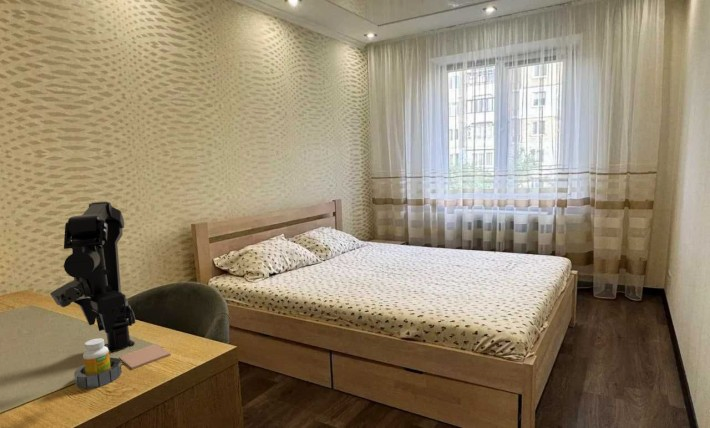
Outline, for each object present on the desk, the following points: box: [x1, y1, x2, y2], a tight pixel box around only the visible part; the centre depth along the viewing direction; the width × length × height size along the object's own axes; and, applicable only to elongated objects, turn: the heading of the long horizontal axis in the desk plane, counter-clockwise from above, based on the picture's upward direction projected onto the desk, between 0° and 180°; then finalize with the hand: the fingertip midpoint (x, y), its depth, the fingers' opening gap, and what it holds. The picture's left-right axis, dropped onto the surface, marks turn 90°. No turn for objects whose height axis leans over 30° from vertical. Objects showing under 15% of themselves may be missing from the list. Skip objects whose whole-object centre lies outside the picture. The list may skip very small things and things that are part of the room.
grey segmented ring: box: [73, 357, 123, 390], centre depth 102 cm, size 10×10×3 cm
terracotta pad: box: [118, 343, 172, 370], centre depth 113 cm, size 10×10×1 cm
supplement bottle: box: [82, 337, 111, 375], centre depth 102 cm, size 5×5×10 cm
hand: (99, 328), depth 101 cm, fingers open, 9 cm apart
